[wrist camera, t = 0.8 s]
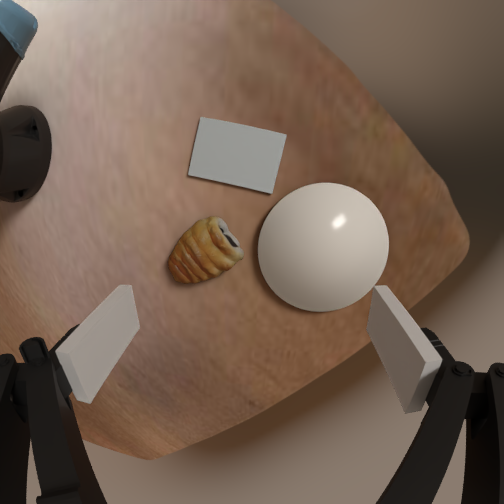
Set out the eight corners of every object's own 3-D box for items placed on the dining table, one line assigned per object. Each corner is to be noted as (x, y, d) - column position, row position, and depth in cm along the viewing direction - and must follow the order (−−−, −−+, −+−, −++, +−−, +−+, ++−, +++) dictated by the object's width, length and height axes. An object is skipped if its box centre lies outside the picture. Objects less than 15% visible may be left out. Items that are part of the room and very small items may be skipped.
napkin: (188, 174, 34) (187, 174, 34) (201, 117, 32) (200, 117, 32) (272, 193, 34) (272, 193, 34) (286, 135, 32) (286, 134, 32)
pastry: (192, 291, 39) (184, 304, 35) (159, 250, 38) (148, 260, 34) (249, 251, 37) (246, 261, 33) (215, 207, 36) (208, 212, 32)
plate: (238, 279, 38) (236, 282, 37) (292, 159, 33) (292, 159, 32) (347, 323, 39) (349, 327, 38) (406, 218, 34) (409, 220, 33)
